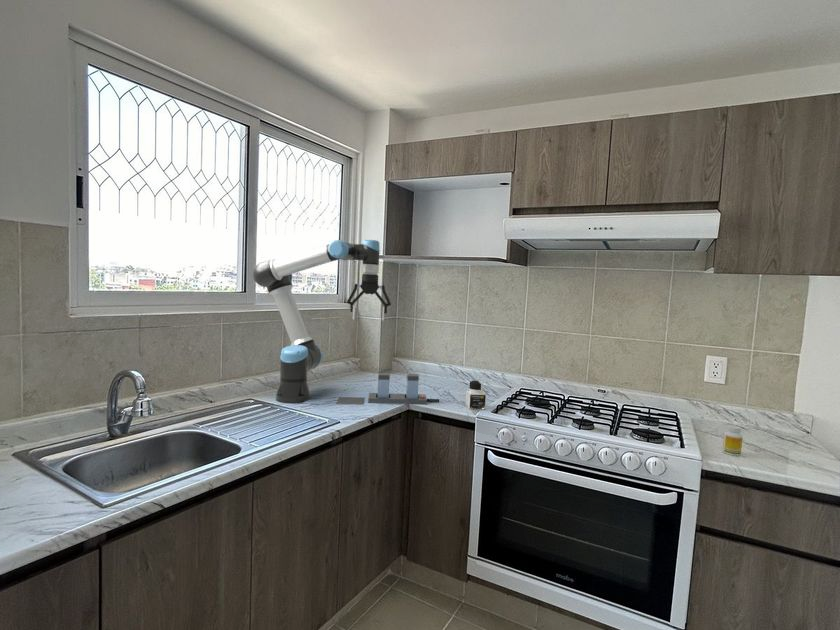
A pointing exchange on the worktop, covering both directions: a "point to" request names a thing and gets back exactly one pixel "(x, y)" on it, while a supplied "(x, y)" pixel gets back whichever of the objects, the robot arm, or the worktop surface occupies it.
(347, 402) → the mat
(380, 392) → the plug
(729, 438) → the supplement bottle
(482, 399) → the medicine bottle
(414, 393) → the twin plug
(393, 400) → the strip
